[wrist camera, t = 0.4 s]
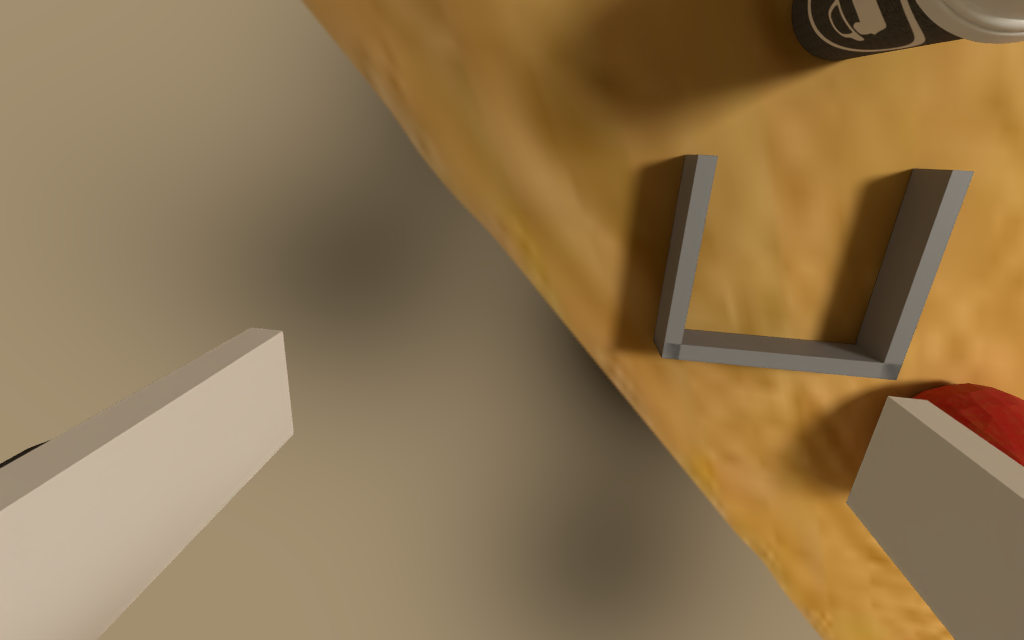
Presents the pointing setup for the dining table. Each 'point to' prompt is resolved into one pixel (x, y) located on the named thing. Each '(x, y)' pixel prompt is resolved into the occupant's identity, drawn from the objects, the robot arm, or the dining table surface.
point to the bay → (889, 309)
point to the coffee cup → (901, 24)
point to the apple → (984, 414)
